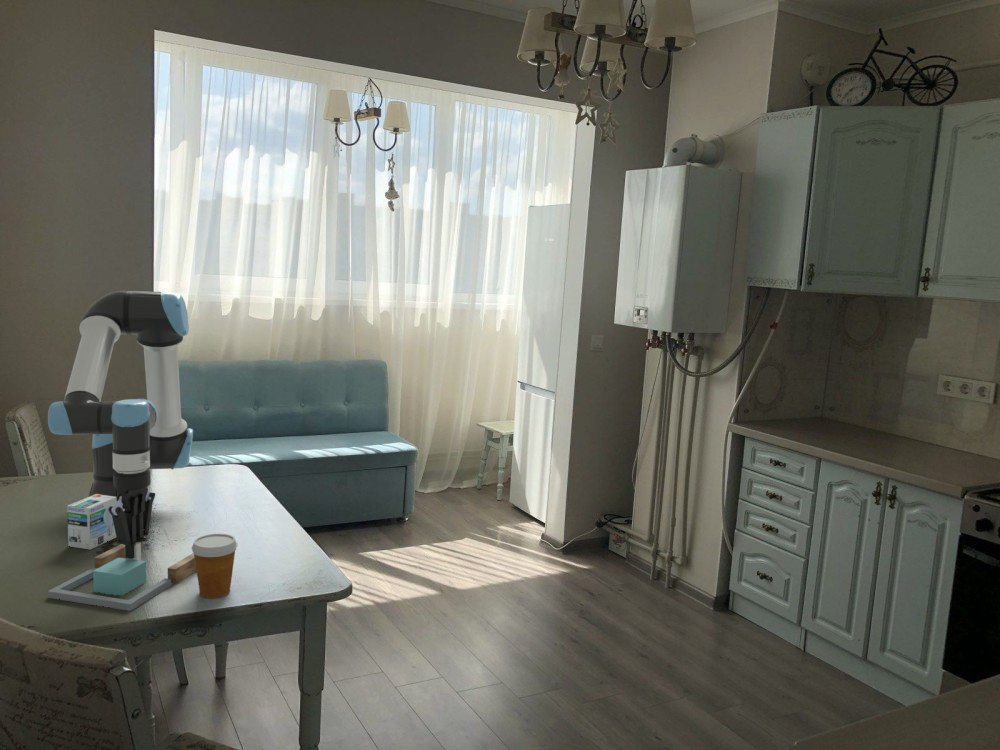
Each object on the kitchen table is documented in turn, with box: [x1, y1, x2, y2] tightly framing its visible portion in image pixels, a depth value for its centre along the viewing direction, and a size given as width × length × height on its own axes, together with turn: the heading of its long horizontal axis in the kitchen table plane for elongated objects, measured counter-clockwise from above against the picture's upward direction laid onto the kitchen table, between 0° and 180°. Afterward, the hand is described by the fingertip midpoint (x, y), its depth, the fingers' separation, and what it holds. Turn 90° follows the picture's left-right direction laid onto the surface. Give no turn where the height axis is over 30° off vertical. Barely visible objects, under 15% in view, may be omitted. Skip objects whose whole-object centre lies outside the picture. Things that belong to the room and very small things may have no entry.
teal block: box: [92, 558, 147, 597], centre depth 173 cm, size 8×7×5 cm
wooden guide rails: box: [94, 544, 197, 585], centre depth 185 cm, size 14×21×4 cm, turn 78°
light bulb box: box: [66, 494, 117, 550], centre depth 198 cm, size 11×7×11 cm, turn 168°
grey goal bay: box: [47, 567, 172, 612], centre depth 171 cm, size 14×20×2 cm
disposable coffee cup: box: [191, 533, 239, 599], centre depth 172 cm, size 10×10×12 cm
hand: (134, 569), depth 178 cm, fingers closed
